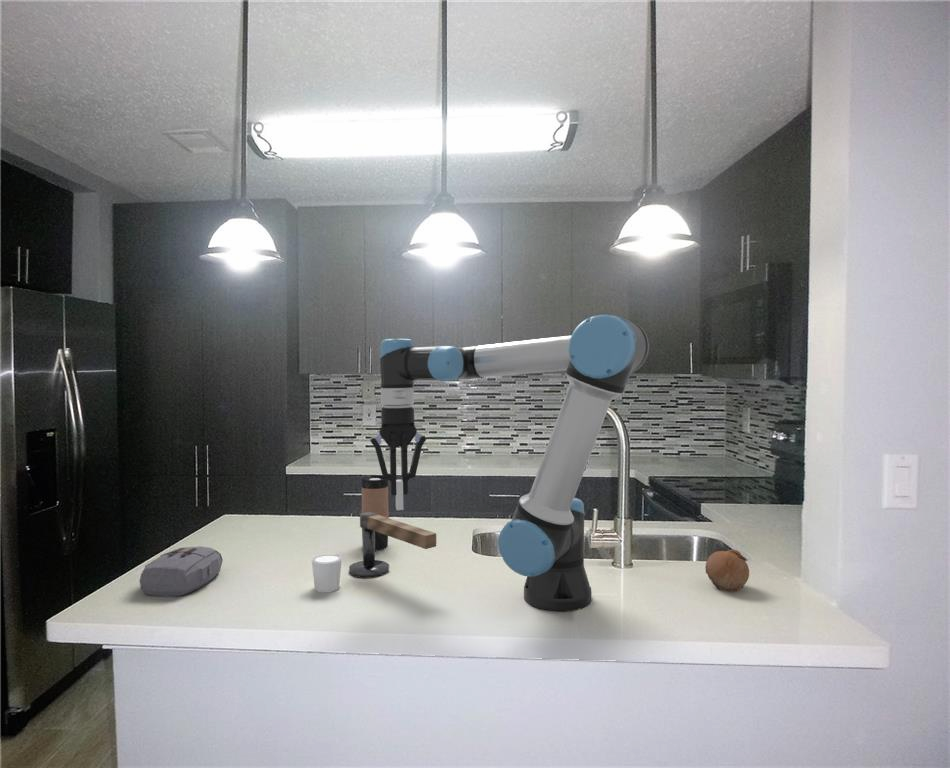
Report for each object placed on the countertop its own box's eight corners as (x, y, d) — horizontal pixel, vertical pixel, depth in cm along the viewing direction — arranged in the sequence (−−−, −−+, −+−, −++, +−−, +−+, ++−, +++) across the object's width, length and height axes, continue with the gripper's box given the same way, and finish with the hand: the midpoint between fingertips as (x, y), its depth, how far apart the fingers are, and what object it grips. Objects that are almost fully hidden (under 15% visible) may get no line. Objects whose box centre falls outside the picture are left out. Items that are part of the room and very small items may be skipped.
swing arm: (356, 526, 157) (356, 514, 157) (371, 522, 160) (371, 511, 160) (423, 549, 137) (423, 536, 137) (438, 545, 140) (438, 532, 140)
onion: (737, 597, 147) (754, 559, 148) (740, 601, 139) (758, 560, 140) (698, 578, 151) (715, 540, 152) (698, 580, 143) (716, 540, 143)
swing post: (397, 570, 158) (396, 527, 157) (365, 580, 150) (365, 535, 150) (372, 561, 164) (372, 520, 164) (341, 571, 157) (340, 528, 157)
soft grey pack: (192, 599, 139) (234, 569, 159) (192, 562, 139) (234, 537, 159) (129, 597, 140) (179, 568, 160) (128, 561, 140) (178, 536, 160)
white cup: (305, 590, 144) (305, 560, 144) (325, 580, 150) (325, 552, 150) (328, 595, 141) (328, 565, 141) (348, 585, 147) (347, 556, 147)
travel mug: (386, 550, 174) (385, 480, 173) (359, 550, 174) (358, 480, 173) (390, 543, 182) (390, 475, 181) (364, 542, 182) (364, 475, 181)
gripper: (369, 408, 136) (371, 514, 137) (428, 406, 139) (430, 510, 140) (367, 406, 144) (370, 507, 144) (423, 404, 147) (425, 503, 147)
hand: (399, 508), depth 142 cm, fingers closed
